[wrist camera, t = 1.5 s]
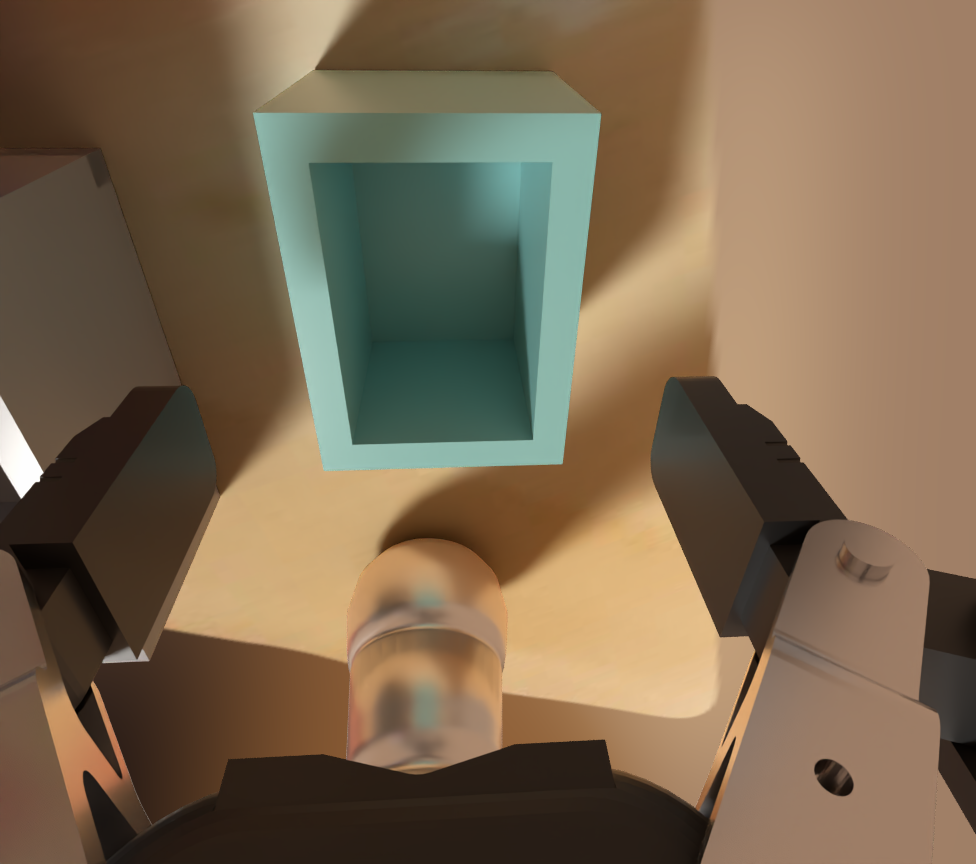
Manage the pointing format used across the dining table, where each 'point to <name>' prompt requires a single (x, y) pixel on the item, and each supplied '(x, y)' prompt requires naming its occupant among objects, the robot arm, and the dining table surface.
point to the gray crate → (70, 320)
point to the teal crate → (433, 259)
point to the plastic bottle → (425, 658)
